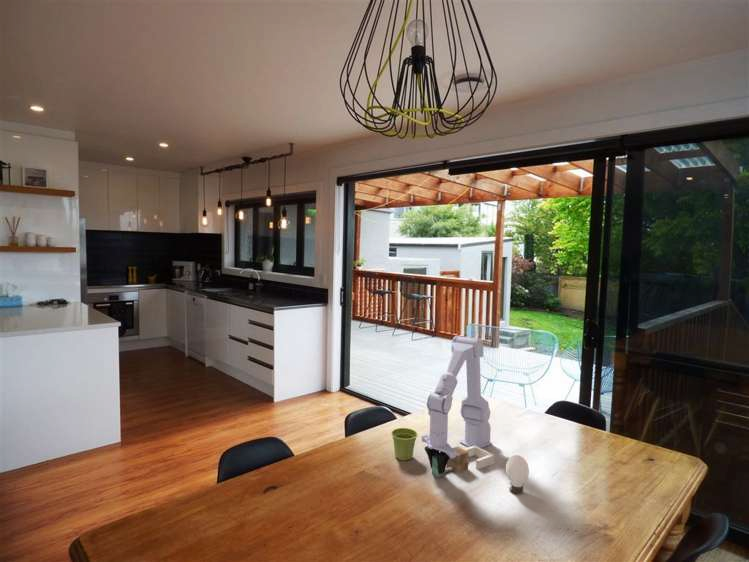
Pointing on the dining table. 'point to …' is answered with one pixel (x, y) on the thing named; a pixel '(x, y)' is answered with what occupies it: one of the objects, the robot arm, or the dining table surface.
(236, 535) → the dining table surface
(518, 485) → the light bulb
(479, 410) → the robot arm
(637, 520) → the dining table surface
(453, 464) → the tethered block
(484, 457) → the shelf lane
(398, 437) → the plant pot
